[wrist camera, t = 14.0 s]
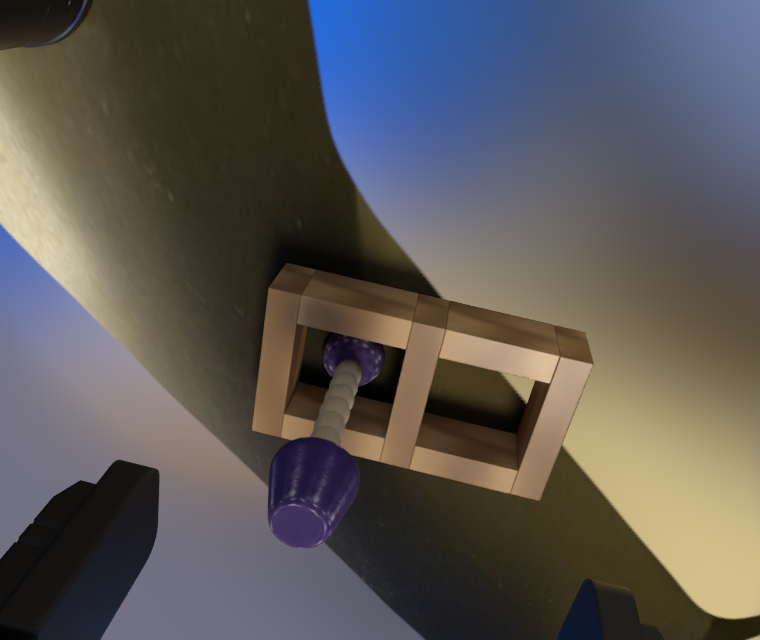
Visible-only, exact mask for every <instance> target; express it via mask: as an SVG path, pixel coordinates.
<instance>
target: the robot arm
mask: <svg viewBox="0 0 760 640" xmlns="http://www.w3.org/2000/svg"><path fill="white" fill-rule="evenodd" d="M91 4H92V0H0V50H5V49H12V48H19V47H39V46H45V45H50V44H53V43H57V42H59V41H61V40H63V39H65V38H66V37H68V36H69V35H71V34H72V33H73V32H74V31H75V30H76V29H77V28H78V27H79V26H80V24H81V23H82V22H83V20H84V19H85V17H86V15H87V13H88V11H89V9H90V7H91ZM158 502H159V471H158V470H157V469H155V468H151V467H147V466H143V465H139V464H135V463H131V462H126V461H123V460H116V461H115V462H114V463H113V464H112V465H111V466H110V467H109V468H108V470H107V471H106V472H105V474H104V475H103V476H102V477H101V479H100V480H99V481H98V482H97V484H93V483H89V482H85V481H81V480H80V481H78V482H77V483H75V484H74V485H72V486H70V487H69V488H67V489H65V490H64V491H62V492H61V493H59V494H57V495H55V496H54V497H53V498H52V499H51V500H50V501H49V503H48V504H47V505H46V506H45V507H44V508H43V510H42V511H41V512H40V513H39V514H38V515H37V517H36V518H35V519H34V522H33V524H30V525H29V526H28V527H27V528H26V530H25V531H24V532H23V533H22V534H21V535H20V537H19V539H18V541H17V543H16V542H15V543H14V544H13V545H12V546H11V547H10V549H9V550H8V551H7V552H6V553H5V554H4V556H3V557H2V558H1V559H0V640H100V639H101V637H102V636H103V634H104V632H105V631H106V629H107V627H108V626H109V624H110V622H111V621H112V619H113V617H114V616H115V614H116V612H117V611H118V609H119V607H120V606H121V604H122V602H123V600H124V599H125V597H126V595H127V594H128V592H129V590H130V589H131V587H132V585H133V584H134V582H135V580H136V578H137V577H138V575H139V573H140V572H141V570H142V568H143V567H144V565H145V563H146V561H147V560H148V558H149V556H150V553H151V551H152V548H153V545H154V542H155V538H156V534H157V527H158V504H159V503H158ZM557 640H664V638H663V636H662V635H661V633H660V632H659V630H658V629H657V627H653V626H649V625H645V624H641V623H640V620H639V616H638V611H637V607H636V603H635V599H634V595H633V593H632V591H631V590H630V589H628V588H624V587H620V586H616V585H612V584H608V583H604V582H600V581H596V580H592V579H586V580H585V581H584V582H583V584H582V586H581V588H580V590H579V592H578V594H577V596H576V598H575V600H574V602H573V605H572V607H571V609H570V611H569V613H568V615H567V617H566V619H565V621H564V624H563V626H562V628H561V630H560V632H559V635H558V639H557Z"/></svg>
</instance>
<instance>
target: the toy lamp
mask: <svg viewBox="0 0 760 640" xmlns="http://www.w3.org/2000/svg"><path fill="white" fill-rule="evenodd" d="M384 361H385V354H384V350H383V348H382V346H381V344H380V343H376V342H372V341H368V340H363V339H359V338H355V337H351V336H347V335H342V334H338V333H333V334H332V335H331V336H330V337H329V338H328V339H327V341H326V343H325V345H324V349H323V362H324V365H325V368H326V370H327V372H328V373H329V374H330V376H331V377H332V380H331V382H330V385H329V390H328V391H327V392H326V394H325V397H324V402H323V404H322V405H321V407H320V410H319V417H318V418H317V420H316V421H315V423H314V427H313V433H312V434H311V435H310V437H304V438H303V437H300V438H297V439H294V440H292V441H290V442H288V443H286V444H285V445H284V446H283V447H281V448H280V449H279V450H278V452H277V453H276V454H275V456H274V458H273V460H272V462H271V466H270V473H269V493H268V521H269V526H270V528H271V531H272V532H273V534H274V535H275V536H276V537H277V538H278V539H279V540H280V541H281V542H283V543H285V544H286V545H289V546H291V547H295V548H301V549H303V548H312V547H315V546H318V545H319V544H321V543H323V542H324V541H325V540H326V539H327V538H328V537H329V536H330V535H331V533H332V532H333V530H334V529H335V527H336V526H337V525H338V523H339V522H340V520H341V519H342V517H343V516H344V515H345V513H346V511H347V510H348V508H349V507H350V505H351V504H352V502H353V501H354V499H355V497H356V495H357V493H358V490H359V486H360V474H359V470H358V466H357V464H356V462H355V460H354V459H353V458H352V456H351V455H350V454H349V453H348V452H347V451H346V450H345V449H343V448H342V447H340V446H341V439H342V437H343V435H344V433H345V424H346V423H347V421H348V419H349V416H350V410H351V408H352V406H353V404H354V396H355V395H356V393H357V390H358V386H361V385H364V384H367V383H369V382H371V381H372V380H374V379H375V378H376V377H377V376H378V375H379V373H380V372H381V370H382V368H383V365H384Z"/></svg>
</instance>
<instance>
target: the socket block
mask: <svg viewBox="0 0 760 640" xmlns="http://www.w3.org/2000/svg"><path fill="white" fill-rule="evenodd" d="M307 326H309V327H313V328H317V329H321V330H325V331H330V332H334V333H338V334H342V335H347V336H351V337H355V338H359V339H363V340H368V341H372V342H376V343H380V344H384V345H389V346H393V347H397V348H401V349H406V351H405V356H404V360H403V364H402V368H401V373H400V377H399V381H398V385H397V390H396V394H395V398H394V402H393V405H392V404H389V403H384V402H380V401H376V400H372V399H368V398H364V397H360V396H354V404H353V406H352V408H351V410H350V416H349V419H348V421H347V423H346V424H345V433H344V435H343V437H342V439H341V446H340V447H342V448H343V449H345V450H346V451H347V452H348V453H349V454H350V455H354V456H359V457H363V458H367V459H371V460H375V461H380V462H383V463H387V464H391V465H395V466H399V467H403V468H407V469H411V470H415V471H419V472H423V473H427V474H432V475H436V476H440V477H444V478H448V479H452V480H456V481H460V482H464V483H468V484H472V485H476V486H480V487H484V488H488V489H493V490H497V491H501V492H505V493H510V494H513V495H517V496H521V497H526V498H530V499H534V500H538V501H540V499H541V496H542V494H543V491H544V489H545V486H546V483H547V481H548V478H549V476H550V473H551V471H552V468H553V466H554V463H555V461H556V458H557V456H558V453H559V451H560V448H561V446H562V443H563V441H564V438H565V435H566V433H567V430H568V428H569V425H570V423H571V420H572V417H573V415H574V413H575V410H576V408H577V405H578V403H579V400H580V397H581V395H582V393H583V390H584V388H585V385H586V382H587V380H588V377H589V375H590V372H591V370H592V367H593V365H594V364H593V360H592V356H591V352H590V348H589V344H588V340H587V337H586V333H585V332H581V331H577V330H573V329H568V328H564V327H559V326H554V325H552V324H547V323H543V322H539V321H535V320H530V319H526V318H522V317H517V316H513V315H509V314H504V313H500V312H496V311H491V310H487V309H482V308H479V307H474V306H470V305H466V304H462V303H457V302H453V301H449V300H445V299H440V298H436V297H432V296H427V295H423V294H418V293H414V292H410V291H406V290H401V289H397V288H393V287H389V286H384V285H380V284H376V283H371V282H367V281H363V280H358V279H354V278H350V277H346V276H341V275H337V274H333V273H328V272H324V271H320V270H315V269H311V268H307V267H302V266H298V265H294V264H290V263H286V264H285V266H284V267H283V268H282V270H281V271H280V273H279V274H278V275H277V277H276V278H275V279H274V281H273V282H272V284H271V285H270V286H269V288H268V296H267V304H266V313H265V321H264V330H263V339H262V347H261V356H260V364H259V373H258V381H257V390H256V399H255V407H254V416H253V424H252V430H253V431H257V432H261V433H265V434H269V435H273V436H277V437H281V438H285V439H289V440H294V439H297V438H300V437H303V438H304V437H310V435H311V434H312V433H313V427H314V423H315V421H316V420H317V418H318V417H319V410H320V407H321V405H322V404H323V402H324V397H325V394H326V392H327V391H328V390H329V389H326V388H322V387H318V386H314V385H310V384H306V383H302V382H299V379H300V372H301V366H302V359H303V352H304V346H305V339H306V333H307ZM438 357H439V358H443V359H447V360H452V361H456V362H460V363H464V364H469V365H473V366H477V367H481V368H485V369H490V370H494V371H498V372H502V373H506V374H511V375H515V376H519V377H523V378H528V379H532V380H535V383H534V386H533V389H532V392H531V394H530V397H529V400H528V403H527V406H526V409H525V411H524V414H523V417H522V420H521V423H520V426H519V428H518V431H517V434H513V433H509V432H505V431H501V430H497V429H493V428H488V427H484V426H480V425H476V424H472V423H468V422H464V421H459V420H455V419H451V418H447V417H443V416H439V415H435V414H430V413H426V412H424V410H425V406H426V403H427V399H428V395H429V391H430V387H431V384H432V380H433V376H434V372H435V369H436V365H437V361H438Z"/></svg>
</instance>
